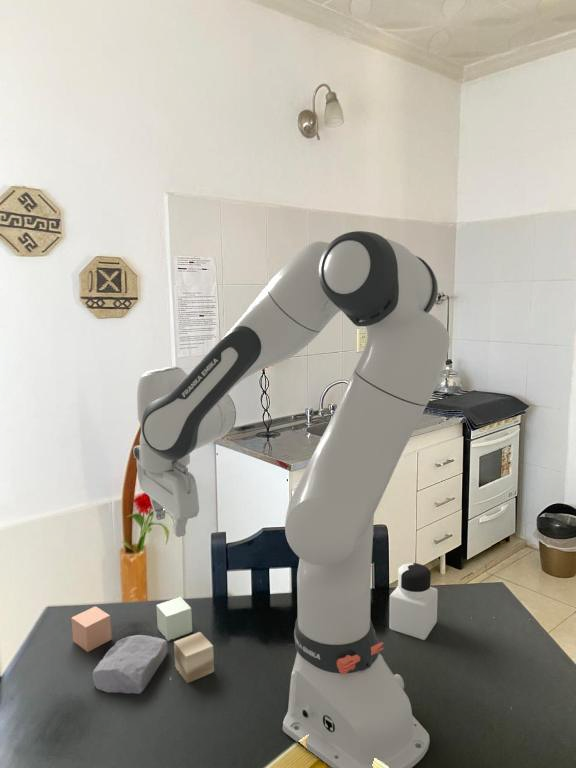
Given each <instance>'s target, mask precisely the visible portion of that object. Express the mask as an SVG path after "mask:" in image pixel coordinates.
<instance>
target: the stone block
mask: <svg viewBox="0 0 576 768" xmlns="http://www.w3.org/2000/svg"><path fill="white" fill-rule="evenodd" d="M167 642H168V640H167V639H163V638H161V637H156V636H151V635H146V634H145V635H144V634H143V635H142V634H136V635H129V636H126V637H123V638H121V639H119V640H117V641H116V642H115V644H114V645H112V647H110V649H108V650H107V652H106V653H105V654H104V656H103V658H102V659H101V660H100V661H99V662H98V664H97V665H96V667H95V668H94V669H93V672H92V681H93V684H94V686H95V687H96V689H97V690H99V691H103V692H105V693H117V694H118V693H121V694H122V693H123V694H129V695H130V694H135V695H140V694H142V693H143V691H144V690H145V689H146V687H147V686H148V684H149V683H150V681H151V679H152V678H153V676H154V675H155V674H156V671H157V670H158V669H159V667H160V665H161V664H162V663H163V661H164V660H165V658H166V656H167V654H168V651H169V650H168V649H169V648H168V643H167Z"/></svg>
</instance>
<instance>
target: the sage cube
mask: <svg viewBox="0 0 576 768" xmlns="http://www.w3.org/2000/svg"><path fill="white" fill-rule="evenodd" d="M155 607H156V622H157V629H158V630H159V632H160V633H161V635H163V637H164V636H165V637H164V638H165V640H166V641H167V642H169V641H171V639H172V640H175V639H177V638H179V637H181V636H185V635H187V634H190V633H193V619H192V614H193V613H192V607H191V606H190V605H189V604H188V603H187V602H186V601H185V600H184V599H183V598H182V596H178V597H175V598H173V599H170V600H167V601H163V602H161V603H158V604H156V605H155Z"/></svg>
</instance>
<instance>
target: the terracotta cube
mask: <svg viewBox="0 0 576 768" xmlns="http://www.w3.org/2000/svg"><path fill="white" fill-rule="evenodd" d="M70 619H71V629H72V641H73V643H75V645H77V646H79V647H80V648H81V649H83V650H84V651H85V652H87V653H88V652H89V653H90V651H92V650H94V649H96V648H98V647H100V646H102V645H103V644H105V643H108V642H109V641H111V640H112V639H113V637H112V623H111V615H110V614H108V613H107V612H105V611H104V610H102V609H101V608H99V607H98V606H93V607H91V608H89V609H87V610H85V611H82V612H80V613H78V614H76V615H74V616H72V617H71V618H70Z"/></svg>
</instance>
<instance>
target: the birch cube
mask: <svg viewBox="0 0 576 768" xmlns="http://www.w3.org/2000/svg"><path fill="white" fill-rule="evenodd" d="M173 651H174V654H173V655H174V667H176V668H175V669H176V670H177V672H178V671H179V672H178V673H179V674H180V675H181V678H182V679H183V680H184V681H185V682H186V683H187V684H189V683H191V682H194V681H196V680H199V679H200V678H203V677H205V676H208V675H210V674H212V673H214V672H215V662H214V661H215V660H214V659H215V658H214V645H213V644H212V643H211V642H210V641H209V640H208V638H207V637H205V635H204V634H203V633H202V632H201V631H198V632H195V633H193V634H190V635H188V636H185V637H183V638H180V639H177V640H175V641H173Z"/></svg>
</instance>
